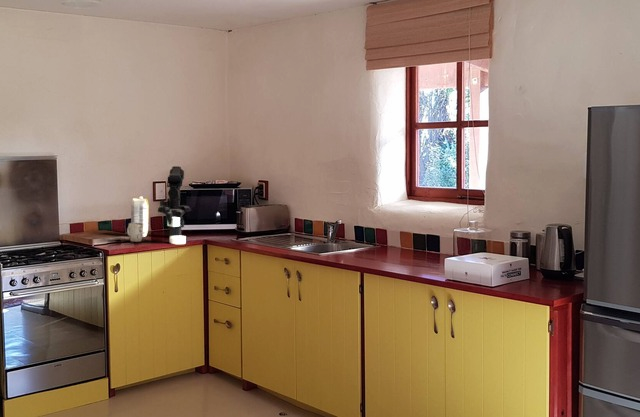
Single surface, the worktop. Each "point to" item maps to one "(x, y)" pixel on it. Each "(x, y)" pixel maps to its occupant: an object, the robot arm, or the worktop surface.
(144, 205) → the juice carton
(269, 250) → the worktop surface
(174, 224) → the white cube
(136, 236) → the mug
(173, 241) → the cream tin
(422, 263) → the worktop surface
